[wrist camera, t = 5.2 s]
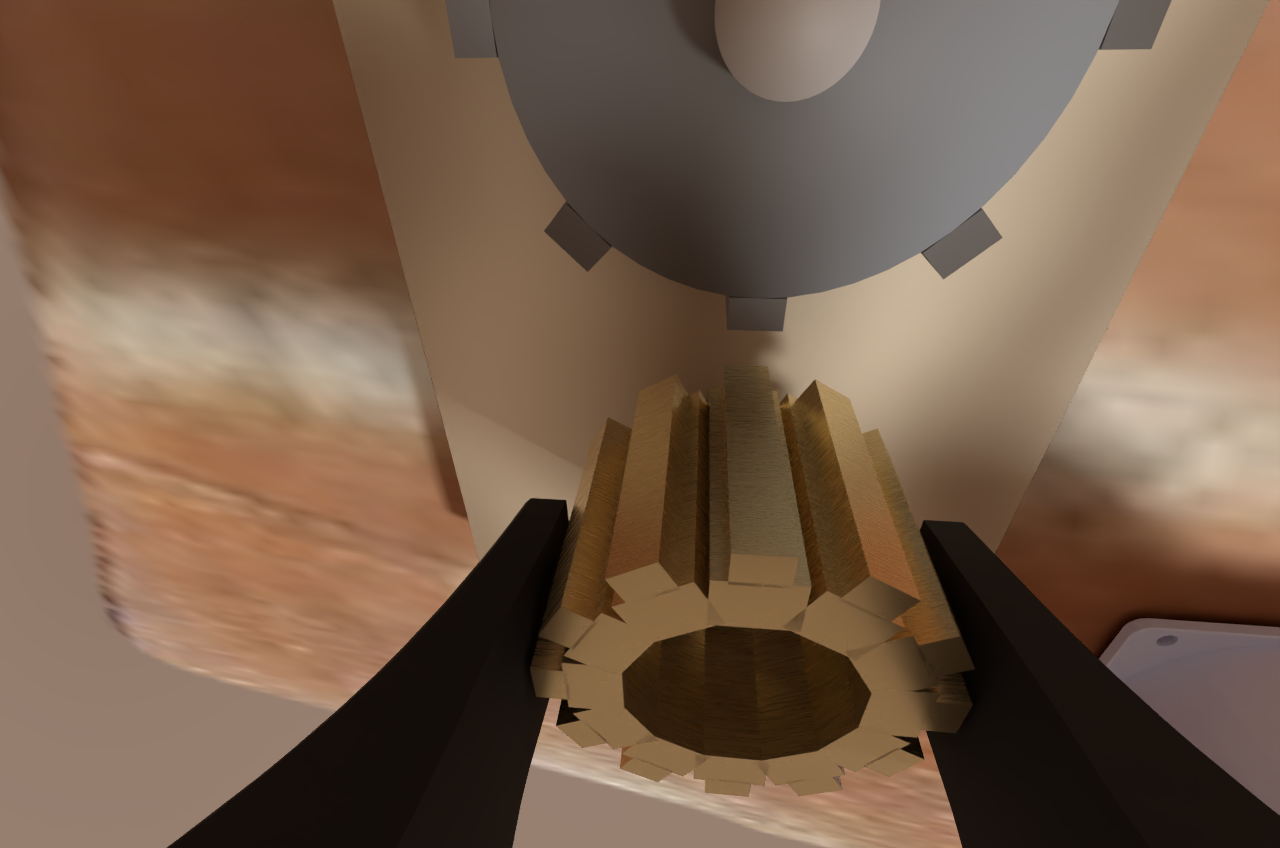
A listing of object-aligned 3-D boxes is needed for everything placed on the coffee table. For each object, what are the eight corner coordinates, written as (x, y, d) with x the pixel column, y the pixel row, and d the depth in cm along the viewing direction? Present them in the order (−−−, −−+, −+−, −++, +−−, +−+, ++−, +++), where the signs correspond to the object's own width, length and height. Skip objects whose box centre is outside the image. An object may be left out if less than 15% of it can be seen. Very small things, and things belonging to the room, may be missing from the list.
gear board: (1385, -440, 7) (2465, -1153, 3) (947, 568, 16) (1023, 751, 12) (299, -352, 8) (-153, -743, 4) (499, 540, 18) (437, 698, 14)
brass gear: (930, 371, 9) (1050, 573, 6) (856, 602, 12) (908, 812, 9) (570, 359, 10) (500, 539, 6) (593, 584, 13) (554, 777, 10)
